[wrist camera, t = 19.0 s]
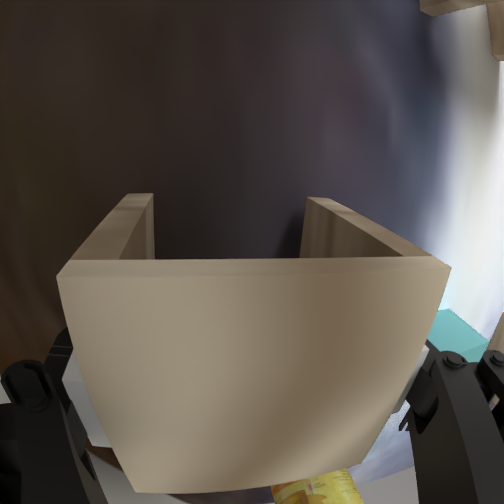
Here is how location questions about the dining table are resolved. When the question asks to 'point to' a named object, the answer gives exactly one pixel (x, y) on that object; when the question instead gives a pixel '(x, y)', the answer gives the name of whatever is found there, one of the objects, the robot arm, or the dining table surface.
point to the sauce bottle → (319, 490)
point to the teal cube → (456, 336)
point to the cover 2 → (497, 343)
